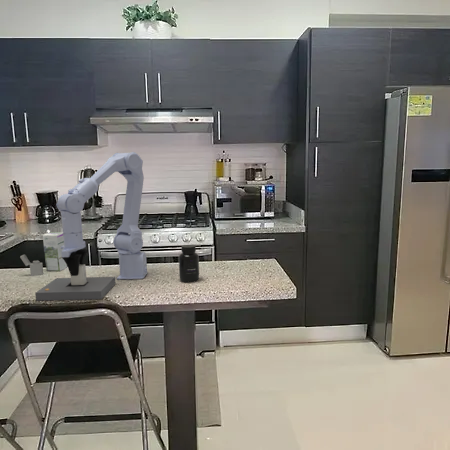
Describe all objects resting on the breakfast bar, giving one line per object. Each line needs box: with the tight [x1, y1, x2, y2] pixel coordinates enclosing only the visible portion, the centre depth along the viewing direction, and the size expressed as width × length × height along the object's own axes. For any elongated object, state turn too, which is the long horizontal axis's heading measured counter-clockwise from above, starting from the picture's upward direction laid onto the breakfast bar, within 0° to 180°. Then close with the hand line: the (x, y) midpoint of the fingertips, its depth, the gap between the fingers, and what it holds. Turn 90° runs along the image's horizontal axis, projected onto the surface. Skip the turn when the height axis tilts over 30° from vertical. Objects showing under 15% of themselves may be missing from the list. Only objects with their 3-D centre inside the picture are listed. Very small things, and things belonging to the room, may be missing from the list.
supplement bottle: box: [178, 244, 200, 283], centre depth 135 cm, size 7×7×12 cm
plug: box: [69, 263, 87, 285], centre depth 126 cm, size 4×3×7 cm, turn 90°
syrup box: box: [42, 231, 68, 272], centre depth 153 cm, size 6×6×14 cm
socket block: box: [35, 276, 117, 302], centre depth 126 cm, size 20×15×3 cm
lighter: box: [19, 254, 44, 277], centre depth 147 cm, size 7×2×8 cm, turn 101°
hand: (76, 274), depth 126 cm, fingers closed on plug, 3 cm apart
